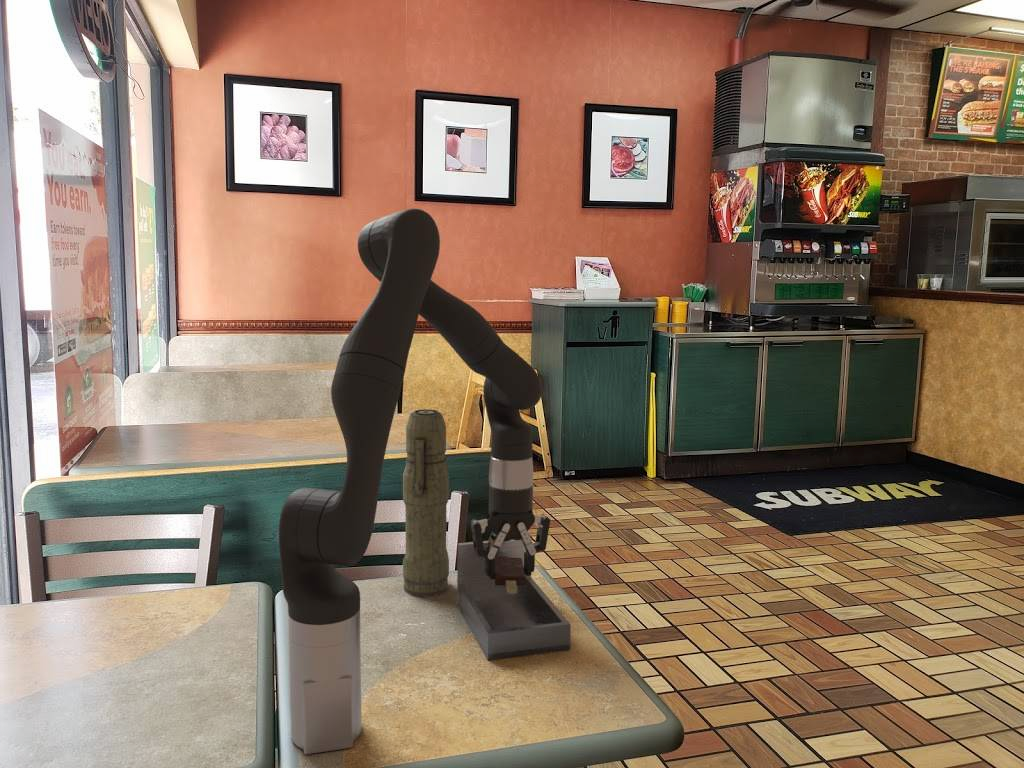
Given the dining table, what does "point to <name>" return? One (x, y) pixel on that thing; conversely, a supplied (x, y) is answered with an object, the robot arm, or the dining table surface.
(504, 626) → the silver tray
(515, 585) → the ice cream bar
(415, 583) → the thermos
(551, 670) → the dining table surface
